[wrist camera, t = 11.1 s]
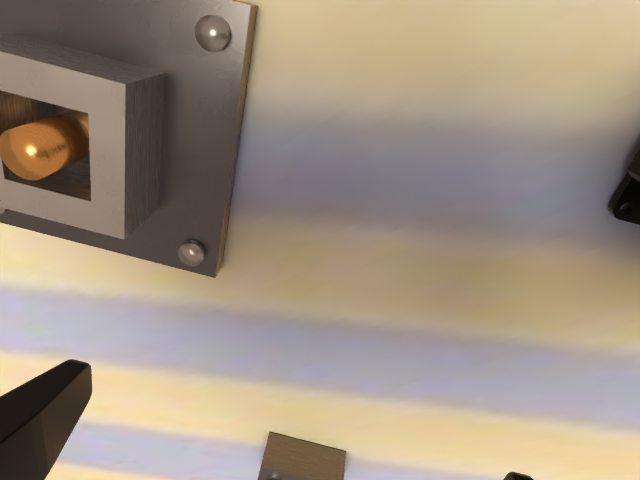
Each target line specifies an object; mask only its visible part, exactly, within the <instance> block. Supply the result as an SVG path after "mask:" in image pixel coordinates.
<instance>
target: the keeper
mask: <svg viewBox="0 0 640 480" xmlns="http://www.w3.org/2000/svg"><path fill="white" fill-rule="evenodd" d="M256 14H257V6H256V5H252V4H248V3H244V2H241V1H237V0H0V34H13V33H16V34H19V35H23V36H27V37H31V38H35V39H38V40H42V41H46V42H50V43H54V44H57V45H61V46H65V47H69V48H72V49H76V50H80V51H84V52H88V53H91V54H95V55H99V56H103V57H107V58H110V59H114V60H118V61H122V62H126V63H129V64H133V65H137V66H141V67H145V68H148V69H152V70H156V71H160V72H163V73H165V83H164V103H163V123H162V143H161V163H160V183H159V203H158V210H156V211H155V212H154V213H153V214H152V215H151V216H150V217H149V218H148V219H146V220H145V221H144V222H143V223H142V224H141V225H140V226H139V227H138V228H137V229H135V230H134V231H133V232H132V233H131V234H130V235H129V236H128V237H127V238H125V239H120V238H116V237H113V236H109V235H105V234H101V233H97V232H93V231H90V230H86V229H82V228H78V227H74V226H70V225H67V224H63V223H59V222H55V221H51V220H47V219H44V218H40V217H36V216H32V215H28V214H25V213H21V212H17V211H13V210H9V209H5V208H2V207H0V222H1V223H5V224H9V225H12V226H16V227H20V228H24V229H28V230H32V231H36V232H40V233H44V234H47V235H51V236H55V237H59V238H63V239H67V240H71V241H75V242H78V243H82V244H86V245H90V246H94V247H98V248H102V249H106V250H109V251H113V252H117V253H121V254H125V255H129V256H133V257H137V258H140V259H144V260H148V261H152V262H156V263H160V264H164V265H168V266H171V267H175V268H179V269H183V270H187V271H191V272H195V273H199V274H202V275H206V276H210V277H214V278H216V276H217V274H218V273H219V271H220V269H221V268H222V262H223V255H224V247H225V240H226V233H227V225H228V218H229V211H230V204H231V196H232V189H233V182H234V174H235V167H236V160H237V152H238V145H239V138H240V131H241V123H242V116H243V109H244V101H245V94H246V87H247V79H248V72H249V65H250V58H251V50H252V43H253V36H254V28H255V21H256ZM52 107H53V116H50V117H47V118H43V119H40V120H37V121H34V122H31V123H28V124H25V125H22V126H18V127H15V128H12V129H9V130H7V131H5V132H3V133H2V135H1V136H0V156H1V158H2V160H3V162H4V163H5V165H6V166H7V167H8V168H9V169H10V170H11V171H12V172H13V173H14V174H16V175H17V176H19V177H21V178H24V179H27V180H39V179H42V178H44V177H46V176H48V175H50V174H52V173H54V172H56V171H58V170H60V169H62V168H64V167H66V166H68V165H70V164H72V163H74V162H76V161H77V162H81V163H85V164H89V165H90V149H89V120H88V113H85V112H81V111H77V110H73V109H70V108H66V107H62V106H58V105H54V104H52Z"/></svg>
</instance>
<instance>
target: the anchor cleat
mask: <svg viewBox="0 0 640 480" xmlns="http://www.w3.org/2000/svg"><path fill="white" fill-rule="evenodd" d="M345 453H346V451H342V450H338V449H334V448H330V447H326V446H322V445H318V444H314V443H311V442H307V441H303V440H299V439H295V438H291V437H287V436H283V435H279V434H275V433H272V432H270V433H269V437H268V441H267V445H266V449H265V453H264V456H263V460H262V464H261V468H260V472H259V476H258V480H344V467H345Z"/></svg>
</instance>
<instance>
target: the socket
mask: <svg viewBox="0 0 640 480" xmlns="http://www.w3.org/2000/svg"><path fill="white" fill-rule="evenodd" d="M164 83H165V73H163V72H160V71H156V70H152V69H148V68H145V67H141V66H137V65H133V64H129V63H126V62H122V61H118V60H114V59H110V58H107V57H103V56H99V55H95V54H91V53H88V52H84V51H80V50H76V49H72V48H69V47H65V46H61V45H57V44H54V43H50V42H46V41H42V40H38V39H35V38H31V37H27V36H23V35H19V34H16V33H13V34H0V136H1V135H2V133H3V132H5V131H7V130H9V129H12V128H15V127H18V126H22V125H25V124H28V123H31V122H34V121H37V120H40V119H43V118H47V117H50V116H53V107H52V104H54V105H58V106H62V107H66V108H70V109H73V110H77V111H81V112H85V113H88V120H89V149H90V165H89V164H85V163H81V162H77V161H76V162H74V163H72V164H70V165H68V166H66V167H64V168H62V169H60V170H58V171H56V172H54V173H52V174H50V175H48V176H46V177H44V178H42V179H39V180H27V179H24V178H21V177H19V176H17V175H16V174H14V173H13V172H12V171H11V170H10V169H9V168H8V167H7V166H6V165H5V163H4V162H3V160H2V158H1V156H0V207H2V208H5V209H9V210H13V211H17V212H21V213H25V214H28V215H32V216H36V217H40V218H44V219H47V220H51V221H55V222H59V223H63V224H67V225H70V226H74V227H78V228H82V229H86V230H90V231H93V232H97V233H101V234H105V235H109V236H113V237H116V238H120V239H125V238H127V237H128V236H129V235H130V234H131V233H132V232H133V231H134V230H135V229H137V228H138V227H139V226H140V225H141V224H142V223H143V222H144V221H145V220H146V219H148V218H149V217H150V216H151V215H152V214H153V213H154V212H155V211H156V210H158V203H159V183H160V163H161V143H162V123H163V103H164Z"/></svg>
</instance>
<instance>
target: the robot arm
mask: <svg viewBox="0 0 640 480" xmlns="http://www.w3.org/2000/svg"><path fill="white" fill-rule="evenodd" d="M628 170H629V172H628V173H627V175H626V177H625V178H624V180H623V181H622V183H621V185H620V186H619V188H618V190H617V191H616V193H615V194H614V196H613V198H612V199H611V201H610V203H609V206H608V208H609V211H610V213H611V214H612V215H613V216H614V217H616V218H617V219H619V220H623V221H627V222H631V223H635V224H639V225H640V149H639V151H638V153H637V154H636V156H635V158H634V159H633V161H632V162H631V164H630V166H629V168H628ZM626 203H629V204H628V207H627V208H626V209H624V210H622V211H619V210H620V207H621V206H622V205H623V204H626ZM91 394H92V374H91V366H90V365H89V364H88V363H86V362H82V361H78V360H73V359H71V360H67V361H65V362H63V363H61V364H59V365H58V366H56V367H54V368H52V369H50V370H48V371H46V372H45V373H43V374H41V375H39V376H37V377H35V378H34V379H32V380H30V381H28V382H26V383H24V384H23V385H21V386H19V387H17V388H15V389H13V390H11V391H10V392H8V393H6V394H4V395H2V396H0V480H45V478H46V476H47V475H48V473H49V472H50V470H51V468H52V467H53V465H54V463H55V461H56V460H57V458H58V456H59V454H60V452H61V451H62V449H63V447H64V445H65V443H66V442H67V440H68V438H69V436H70V434H71V433H72V431H73V429H74V427H75V425H76V424H77V422H78V420H79V418H80V416H81V415H82V413H83V411H84V409H85V407H86V406H87V404H88V402H89V400H90V397H91ZM503 480H533V479H532V478H531V477H530V476H527V475H524V474H520V473H516V472H510V473H508V474H507V475H506V477H505V478H504V479H503Z"/></svg>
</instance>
